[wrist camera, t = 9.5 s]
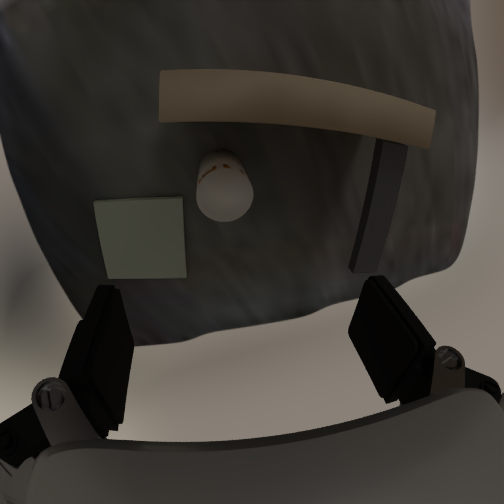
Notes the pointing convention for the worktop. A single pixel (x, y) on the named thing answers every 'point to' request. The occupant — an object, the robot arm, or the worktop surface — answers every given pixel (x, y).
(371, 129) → the stand
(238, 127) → the worktop surface
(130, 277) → the mat
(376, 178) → the strap
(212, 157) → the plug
